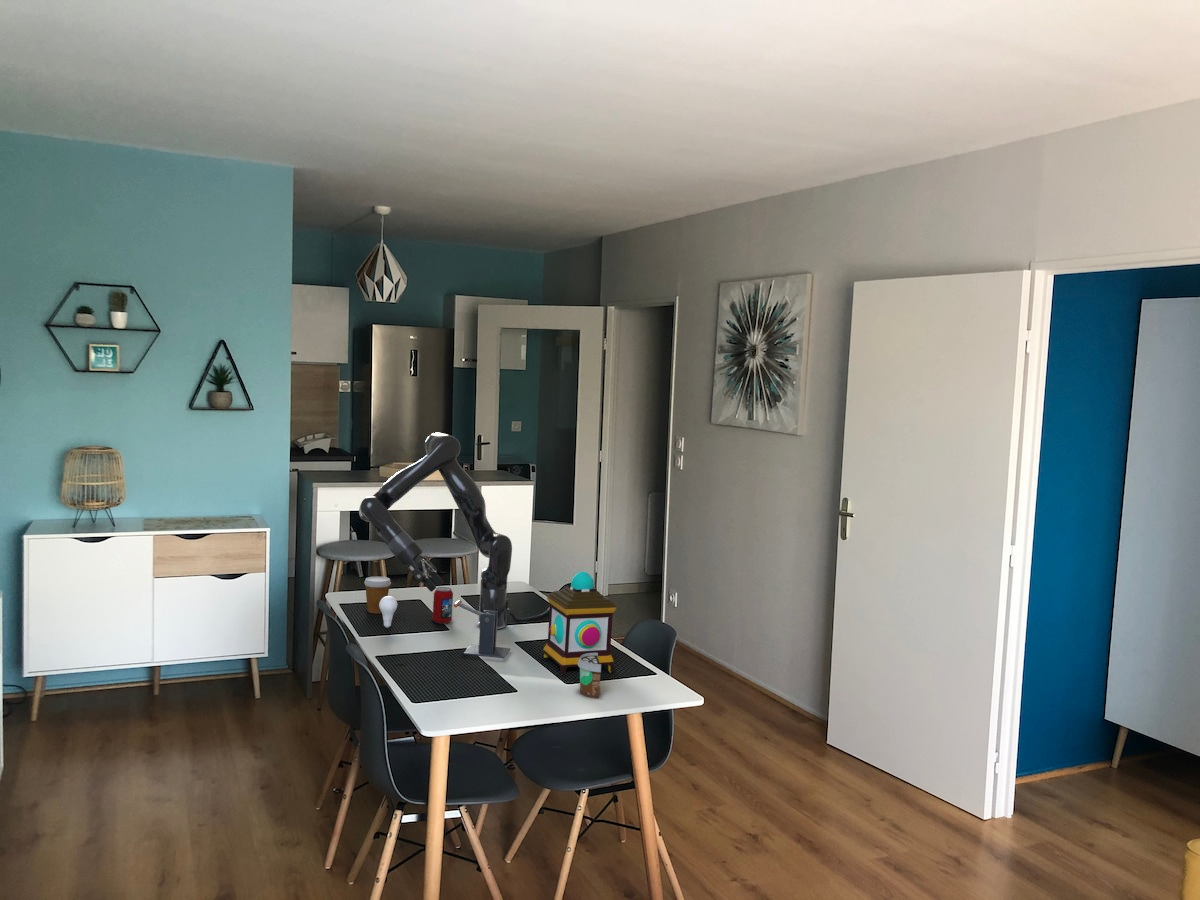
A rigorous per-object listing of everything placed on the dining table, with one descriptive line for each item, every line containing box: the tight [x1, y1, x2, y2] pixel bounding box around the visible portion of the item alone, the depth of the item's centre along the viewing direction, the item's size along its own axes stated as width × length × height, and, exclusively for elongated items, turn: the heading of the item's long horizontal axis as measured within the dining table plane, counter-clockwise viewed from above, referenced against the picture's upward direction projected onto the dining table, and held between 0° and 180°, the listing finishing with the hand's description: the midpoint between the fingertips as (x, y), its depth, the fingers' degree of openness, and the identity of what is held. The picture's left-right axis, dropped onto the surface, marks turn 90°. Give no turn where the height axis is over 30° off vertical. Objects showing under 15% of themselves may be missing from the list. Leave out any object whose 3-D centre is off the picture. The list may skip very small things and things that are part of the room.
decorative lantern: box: [542, 570, 617, 674], centre depth 292 cm, size 20×20×30 cm
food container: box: [577, 653, 602, 699], centre depth 269 cm, size 12×6×10 cm, turn 5°
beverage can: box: [432, 586, 454, 624], centre depth 334 cm, size 7×7×12 cm
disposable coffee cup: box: [363, 576, 392, 614], centre depth 343 cm, size 10×10×12 cm
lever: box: [453, 599, 490, 617], centre depth 298 cm, size 13×6×2 cm, turn 84°
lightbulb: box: [379, 595, 398, 629], centre depth 322 cm, size 6×6×11 cm
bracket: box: [462, 610, 511, 659], centre depth 298 cm, size 13×10×14 cm
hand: (437, 587), depth 299 cm, fingers open, 8 cm apart
